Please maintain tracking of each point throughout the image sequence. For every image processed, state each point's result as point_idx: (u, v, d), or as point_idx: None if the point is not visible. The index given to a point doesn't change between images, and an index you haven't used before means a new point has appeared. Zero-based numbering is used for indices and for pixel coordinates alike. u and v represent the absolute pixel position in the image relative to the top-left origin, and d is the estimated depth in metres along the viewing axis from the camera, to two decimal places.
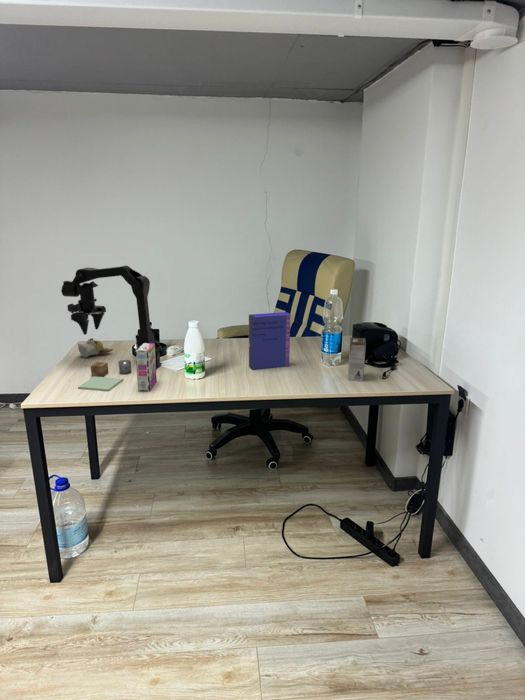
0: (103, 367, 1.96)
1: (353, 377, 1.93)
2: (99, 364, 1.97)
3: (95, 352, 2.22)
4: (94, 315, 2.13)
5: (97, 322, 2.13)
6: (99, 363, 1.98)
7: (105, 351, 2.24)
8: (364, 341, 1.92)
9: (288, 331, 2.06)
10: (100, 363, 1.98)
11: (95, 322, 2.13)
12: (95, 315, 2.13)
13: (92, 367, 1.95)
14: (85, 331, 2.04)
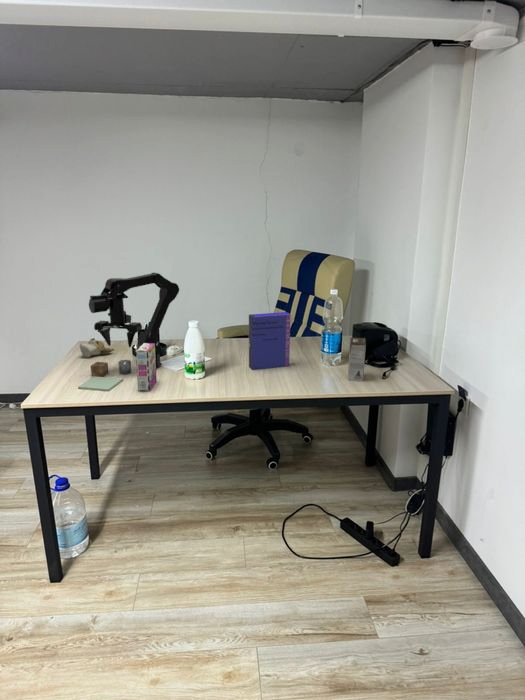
0: (103, 367, 1.96)
1: (353, 377, 1.93)
2: (99, 364, 1.97)
3: (97, 352, 2.22)
4: None
5: None
6: (99, 363, 1.98)
7: (107, 351, 2.24)
8: (364, 341, 1.92)
9: (288, 331, 2.06)
10: (100, 363, 1.98)
11: None
12: None
13: (92, 367, 1.95)
14: None
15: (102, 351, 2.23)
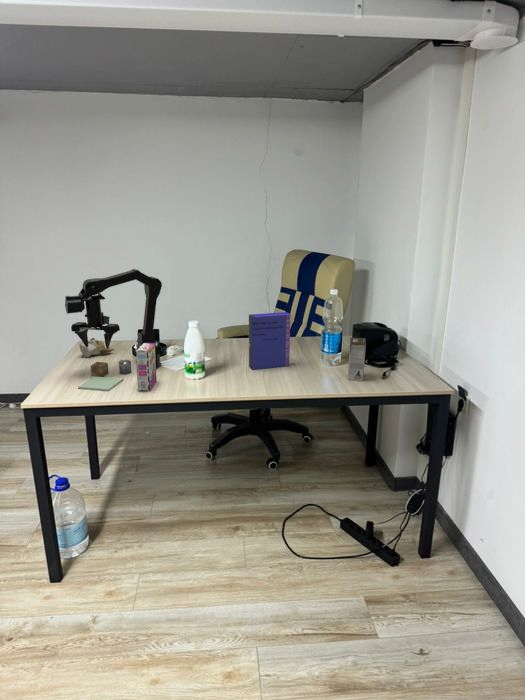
0: (103, 367, 1.96)
1: (353, 377, 1.93)
2: (99, 364, 1.97)
3: (96, 352, 2.22)
4: None
5: None
6: (99, 363, 1.98)
7: (106, 351, 2.24)
8: (364, 341, 1.92)
9: (288, 331, 2.06)
10: (100, 363, 1.98)
11: None
12: None
13: (92, 367, 1.95)
14: None
15: (102, 351, 2.23)
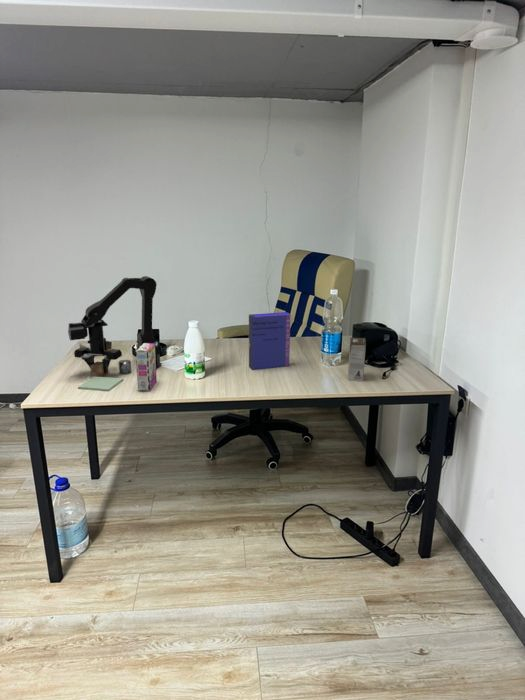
0: None
1: (353, 377, 1.93)
2: (99, 363, 1.97)
3: None
4: None
5: None
6: (99, 363, 1.98)
7: None
8: (364, 341, 1.92)
9: (288, 331, 2.06)
10: (100, 363, 1.98)
11: None
12: None
13: (92, 367, 1.95)
14: None
15: None
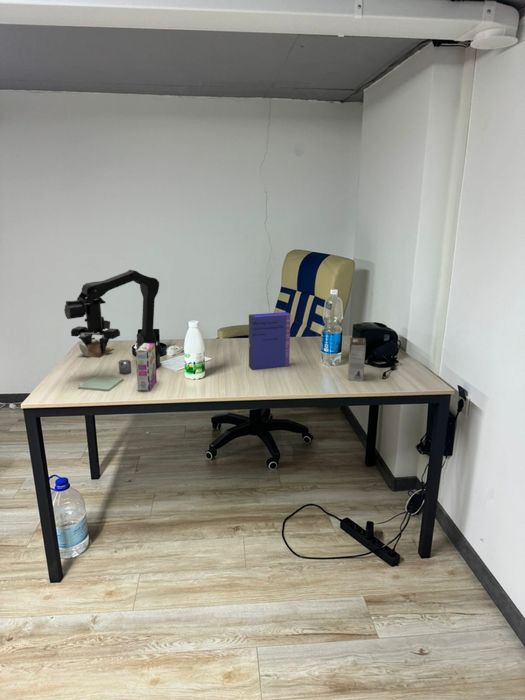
0: (100, 347, 1.89)
1: (353, 377, 1.93)
2: (96, 343, 1.90)
3: None
4: None
5: None
6: (97, 343, 1.91)
7: (106, 350, 2.24)
8: (364, 341, 1.92)
9: (288, 331, 2.06)
10: (97, 342, 1.91)
11: None
12: None
13: (89, 346, 1.88)
14: None
15: None
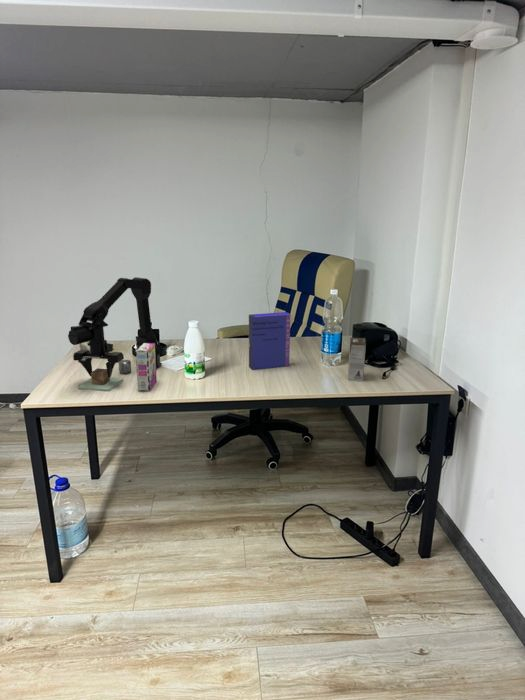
0: (104, 374, 1.85)
1: (353, 377, 1.93)
2: (100, 370, 1.86)
3: None
4: None
5: None
6: (100, 370, 1.87)
7: None
8: (364, 341, 1.92)
9: (288, 331, 2.06)
10: (101, 369, 1.87)
11: None
12: None
13: (93, 374, 1.85)
14: None
15: None
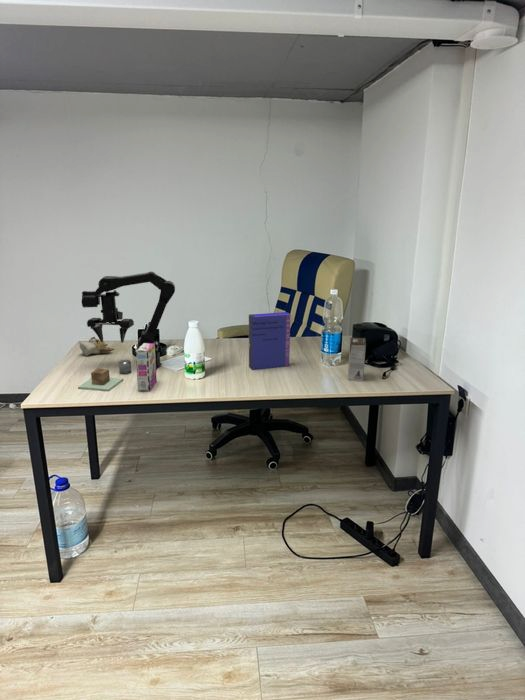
0: (104, 374, 1.85)
1: (353, 377, 1.93)
2: (100, 370, 1.86)
3: (96, 351, 2.24)
4: None
5: None
6: (100, 370, 1.87)
7: (106, 350, 2.25)
8: (364, 341, 1.92)
9: (288, 331, 2.06)
10: (101, 369, 1.87)
11: None
12: None
13: (93, 374, 1.85)
14: None
15: (101, 350, 2.24)
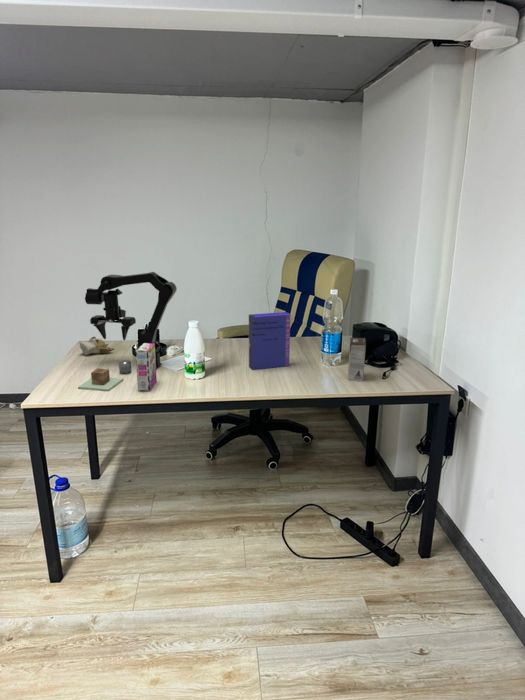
0: (104, 374, 1.85)
1: (353, 377, 1.93)
2: (100, 370, 1.86)
3: (96, 350, 2.24)
4: None
5: None
6: (100, 370, 1.87)
7: (106, 350, 2.25)
8: (364, 341, 1.92)
9: (288, 331, 2.06)
10: (101, 369, 1.87)
11: None
12: None
13: (93, 374, 1.85)
14: None
15: (101, 350, 2.25)
